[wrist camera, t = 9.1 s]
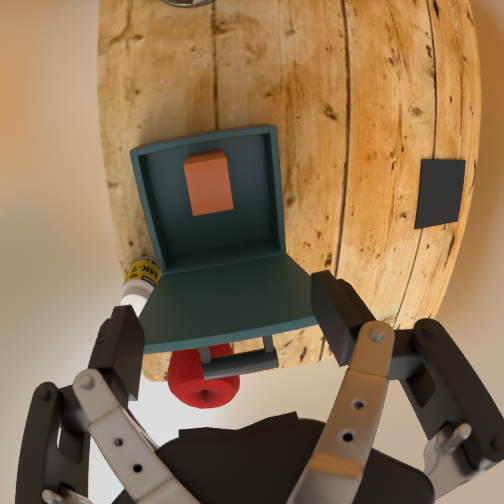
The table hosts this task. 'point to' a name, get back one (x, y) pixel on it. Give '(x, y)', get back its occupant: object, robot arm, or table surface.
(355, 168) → the table surface
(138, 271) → the supplement bottle
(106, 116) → the table surface
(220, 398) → the apple
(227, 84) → the table surface
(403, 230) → the table surface
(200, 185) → the block
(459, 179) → the mat
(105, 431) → the robot arm
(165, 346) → the lunchbox lid
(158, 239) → the box
